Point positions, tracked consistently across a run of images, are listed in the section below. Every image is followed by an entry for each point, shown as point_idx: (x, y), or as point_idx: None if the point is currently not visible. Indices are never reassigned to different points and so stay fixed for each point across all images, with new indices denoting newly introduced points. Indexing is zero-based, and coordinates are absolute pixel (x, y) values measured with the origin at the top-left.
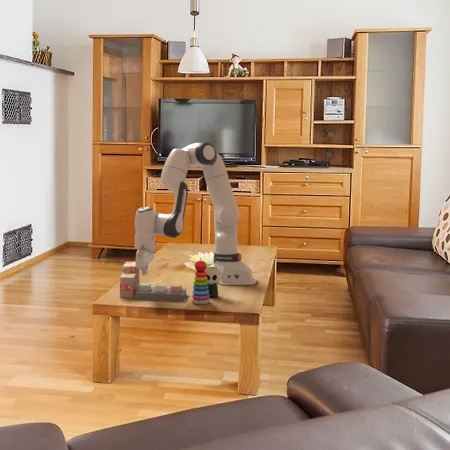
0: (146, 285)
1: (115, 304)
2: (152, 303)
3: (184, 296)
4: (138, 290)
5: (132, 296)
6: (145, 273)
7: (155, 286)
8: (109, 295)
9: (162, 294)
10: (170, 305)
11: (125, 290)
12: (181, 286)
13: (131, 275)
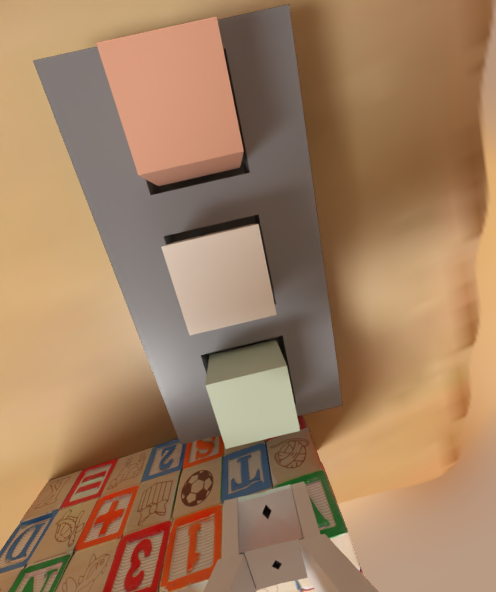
0: (290, 383)
1: (448, 407)
2: (391, 243)
3: None
4: None
5: None
6: (309, 503)
7: (275, 309)
8: None
9: (314, 213)
10: (415, 97)
11: (322, 466)
12: (128, 48)
13: None
